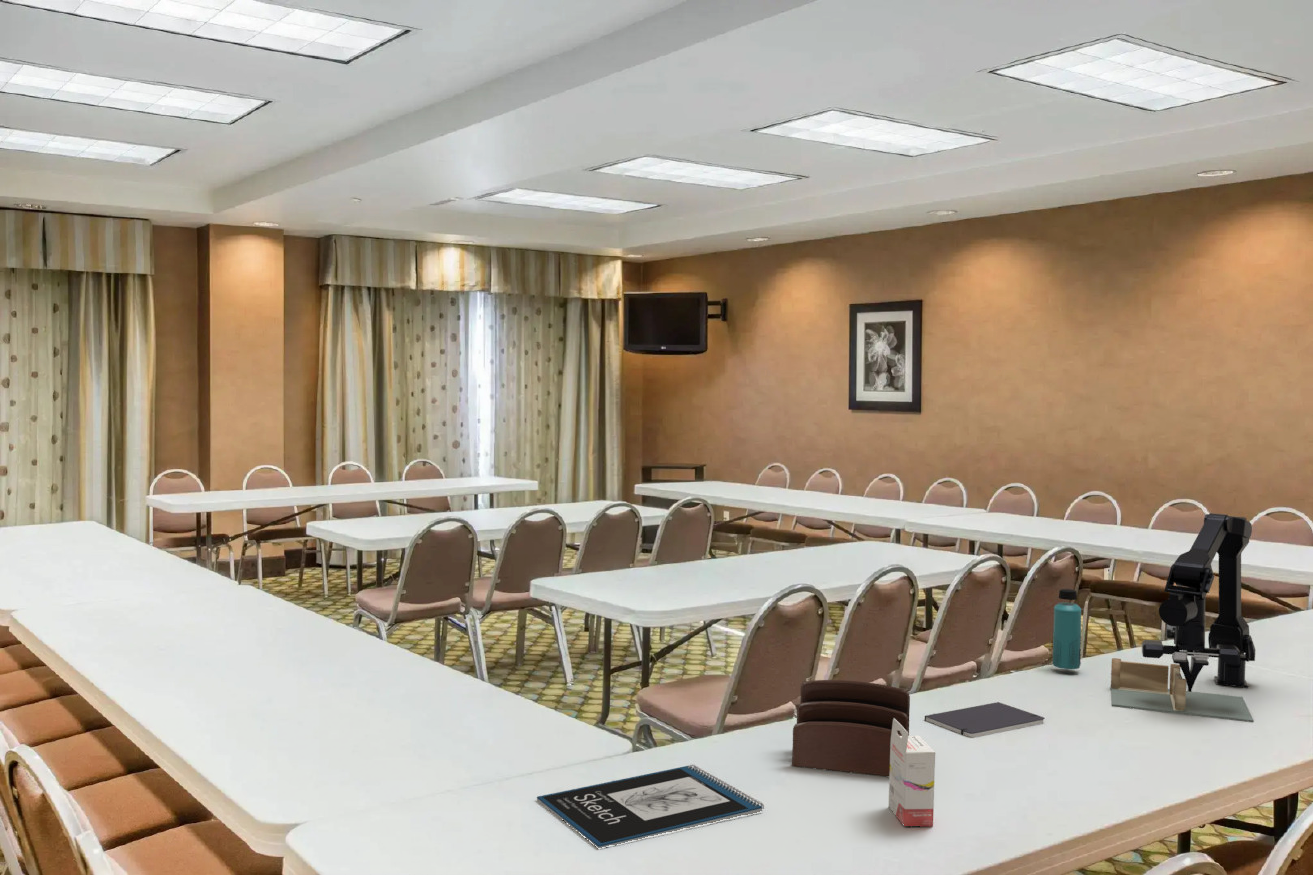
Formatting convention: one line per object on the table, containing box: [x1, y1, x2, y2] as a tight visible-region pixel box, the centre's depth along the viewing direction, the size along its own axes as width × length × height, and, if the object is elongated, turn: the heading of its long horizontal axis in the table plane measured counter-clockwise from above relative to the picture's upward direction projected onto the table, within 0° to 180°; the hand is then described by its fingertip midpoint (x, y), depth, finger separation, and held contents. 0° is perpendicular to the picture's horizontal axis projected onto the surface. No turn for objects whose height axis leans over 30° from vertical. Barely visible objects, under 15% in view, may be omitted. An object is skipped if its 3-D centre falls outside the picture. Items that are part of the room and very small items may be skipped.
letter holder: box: [791, 679, 911, 777], centre depth 198 cm, size 10×20×14 cm, turn 74°
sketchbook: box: [536, 763, 765, 848], centre depth 177 cm, size 22×30×2 cm
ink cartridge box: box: [888, 718, 936, 828], centre depth 174 cm, size 9×5×15 cm, turn 5°
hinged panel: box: [1173, 668, 1187, 710], centre depth 239 cm, size 13×2×6 cm, turn 160°
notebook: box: [924, 701, 1045, 738], centre depth 225 cm, size 13×2×21 cm
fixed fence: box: [1110, 657, 1181, 695], centre depth 248 cm, size 2×14×7 cm, turn 68°
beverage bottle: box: [1051, 588, 1082, 670], centre depth 265 cm, size 6×7×20 cm
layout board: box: [1110, 687, 1255, 723], centre depth 241 cm, size 19×27×1 cm
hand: (1189, 691), depth 237 cm, fingers closed
